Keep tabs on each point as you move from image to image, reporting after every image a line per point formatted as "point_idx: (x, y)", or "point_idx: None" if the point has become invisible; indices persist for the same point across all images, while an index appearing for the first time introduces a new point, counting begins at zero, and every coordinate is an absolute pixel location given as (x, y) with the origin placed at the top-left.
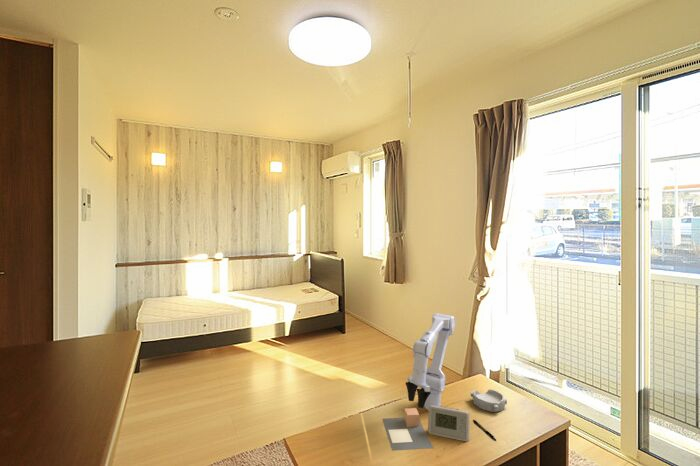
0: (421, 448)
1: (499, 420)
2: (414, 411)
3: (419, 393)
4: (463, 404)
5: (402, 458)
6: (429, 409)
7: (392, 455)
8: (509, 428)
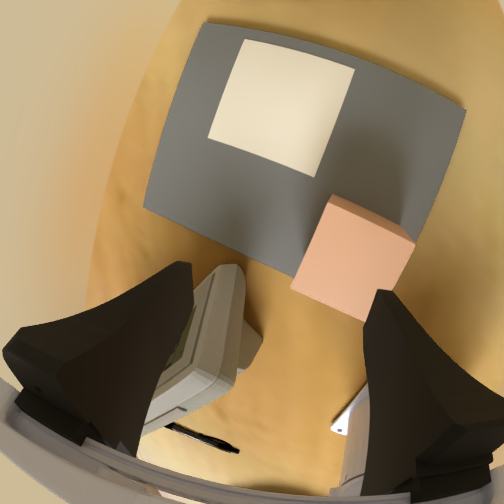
0: (157, 152)
1: (210, 478)
2: (340, 284)
3: (44, 328)
4: (325, 487)
5: (162, 54)
6: (212, 351)
7: (193, 22)
8: (175, 463)
